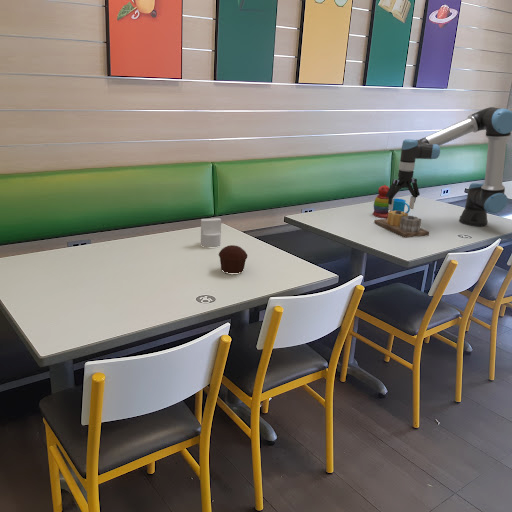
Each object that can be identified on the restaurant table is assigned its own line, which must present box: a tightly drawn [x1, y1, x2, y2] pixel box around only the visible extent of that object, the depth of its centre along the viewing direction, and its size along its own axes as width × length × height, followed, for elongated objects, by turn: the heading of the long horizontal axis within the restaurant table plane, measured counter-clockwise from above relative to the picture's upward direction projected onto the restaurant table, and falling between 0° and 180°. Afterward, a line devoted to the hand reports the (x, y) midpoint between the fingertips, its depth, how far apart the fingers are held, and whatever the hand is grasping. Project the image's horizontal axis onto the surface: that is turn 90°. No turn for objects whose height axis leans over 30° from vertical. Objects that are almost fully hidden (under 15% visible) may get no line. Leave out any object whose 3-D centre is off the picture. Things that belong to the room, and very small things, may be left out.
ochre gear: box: [387, 210, 409, 226], centre depth 274 cm, size 10×10×6 cm
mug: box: [393, 197, 411, 214], centre depth 302 cm, size 12×8×8 cm
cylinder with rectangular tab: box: [200, 217, 222, 248], centre depth 229 cm, size 9×9×12 cm
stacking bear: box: [372, 184, 390, 219], centre depth 294 cm, size 11×10×18 cm
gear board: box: [373, 211, 430, 238], centre depth 271 cm, size 16×26×9 cm, turn 22°
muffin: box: [218, 244, 248, 273], centre depth 202 cm, size 12×11×10 cm
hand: (400, 209), depth 271 cm, fingers open, 13 cm apart
